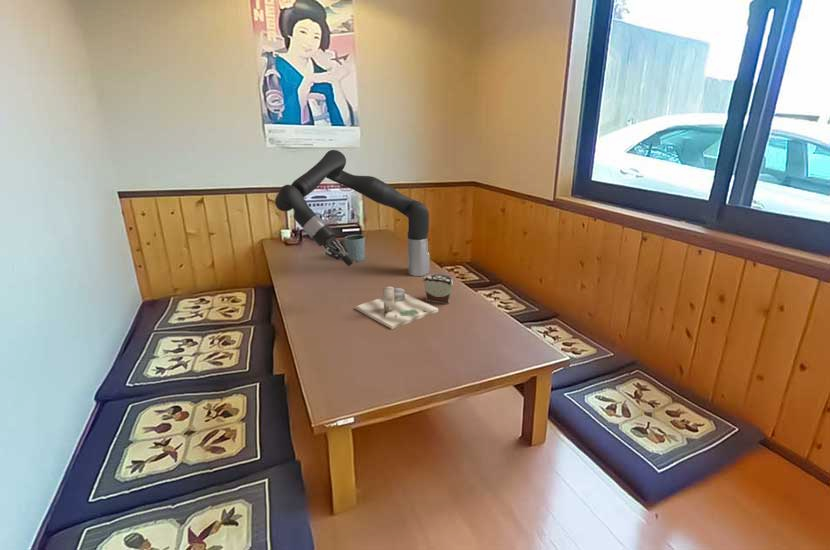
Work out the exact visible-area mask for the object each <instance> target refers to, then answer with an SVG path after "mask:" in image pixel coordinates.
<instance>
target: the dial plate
mask: <svg viewBox="0 0 830 550" xmlns="http://www.w3.org/2000/svg"><path fill="white" fill-rule="evenodd" d="M394 304H395V309H394V310H390V311H389V312H388V313H384V311H385V309H384V297H383V296H382V297H380V298H376V299H373V300H371V301H367V302H364V303H362V304H359V305H355V310H357V311H358V312H360V313H362V314H365V315H366V316H368V317H369V318H371V319H373V320H375V321H376V322H378V323H380V324H382V325H383V326H385V327H388V328H390V330H393V329H396V328H399V327H402V326H404V325H406V324H410V323H412V322H415V321H417V320H419V319H420V320H421V319H422V318H426V317H428V316H430V315H432V314H435V313H438V312H439V308H438V307H436V306H434V305H432V304H430V303H427V302H424V301H422V300H420V299H418V298H415V297H414V296H412V295H409V294H407V293H405V299H404V300H401V301H396V302H395V303H394Z"/></svg>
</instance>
